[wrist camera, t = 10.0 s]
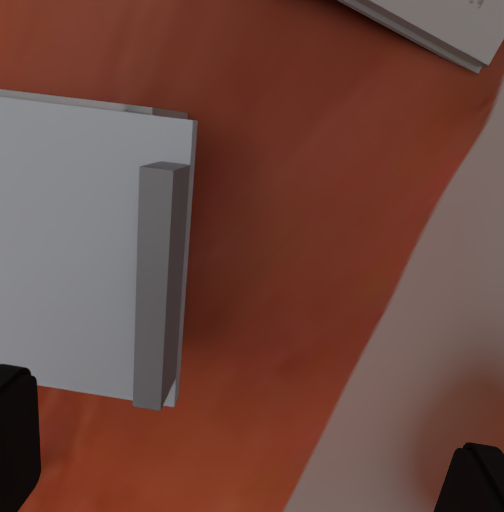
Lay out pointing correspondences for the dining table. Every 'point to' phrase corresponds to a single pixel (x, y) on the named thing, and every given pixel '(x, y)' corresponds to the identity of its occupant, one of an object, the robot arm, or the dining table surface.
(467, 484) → the robot arm
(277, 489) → the dining table surface
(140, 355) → the lid
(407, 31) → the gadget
